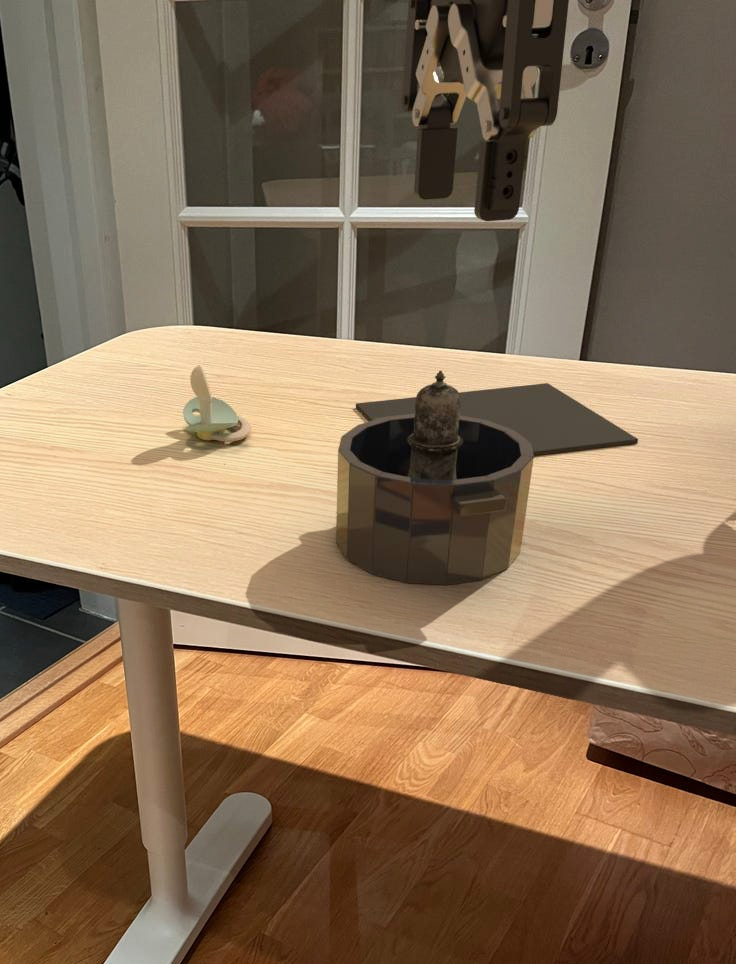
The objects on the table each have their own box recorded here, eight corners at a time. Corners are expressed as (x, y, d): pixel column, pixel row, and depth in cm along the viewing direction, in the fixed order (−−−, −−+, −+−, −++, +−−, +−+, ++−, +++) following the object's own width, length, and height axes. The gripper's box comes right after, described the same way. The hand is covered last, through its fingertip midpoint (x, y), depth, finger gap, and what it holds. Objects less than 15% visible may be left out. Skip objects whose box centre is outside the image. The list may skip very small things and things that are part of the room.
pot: (464, 486, 73) (473, 399, 69) (563, 580, 60) (581, 480, 57) (310, 506, 71) (310, 417, 67) (379, 607, 58) (384, 504, 54)
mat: (547, 386, 93) (547, 382, 93) (637, 443, 80) (638, 438, 80) (355, 407, 89) (355, 403, 89) (417, 470, 76) (417, 465, 76)
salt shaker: (388, 519, 69) (397, 355, 62) (470, 524, 68) (488, 358, 61) (381, 556, 64) (390, 383, 57) (468, 562, 63) (488, 387, 56)
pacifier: (245, 419, 88) (182, 421, 87) (245, 352, 84) (179, 354, 84) (256, 447, 82) (187, 450, 81) (256, 376, 78) (185, 379, 78)
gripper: (653, -198, 39) (587, 224, 48) (500, -142, 51) (470, 188, 59) (486, -201, 37) (450, 234, 46) (368, -143, 49) (358, 195, 58)
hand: (461, 208), depth 53 cm, fingers open, 8 cm apart
